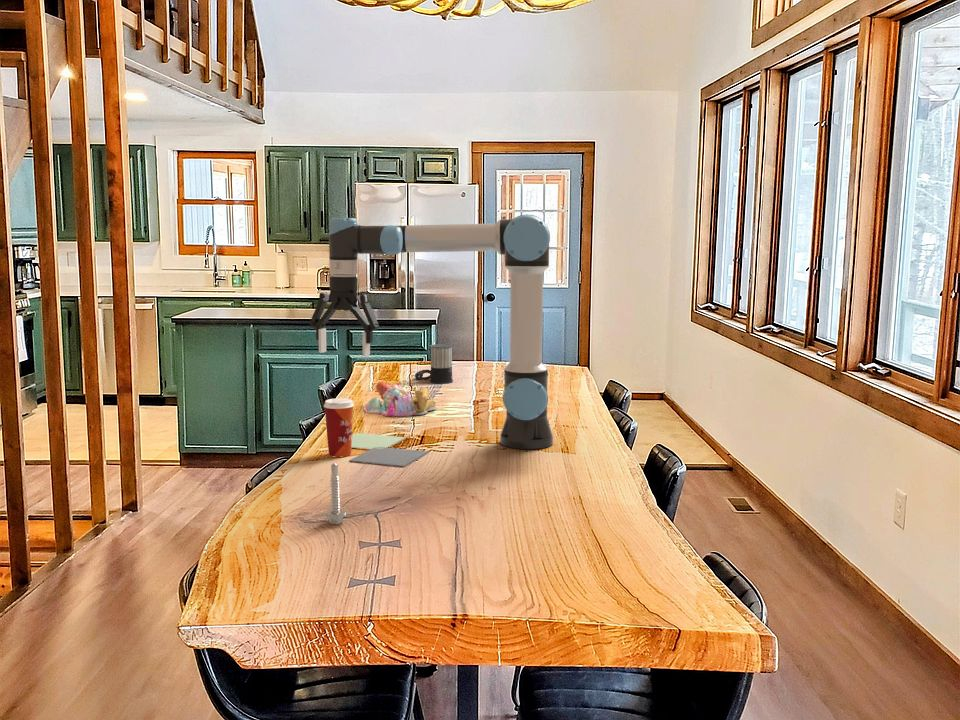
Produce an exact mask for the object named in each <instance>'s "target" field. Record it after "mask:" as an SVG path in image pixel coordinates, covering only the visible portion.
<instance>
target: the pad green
mask: <svg viewBox="0 0 960 720" xmlns="http://www.w3.org/2000/svg"><path fill="white" fill-rule="evenodd" d="M404 440H406V436H405V437H404V436H396V435H395V436H394V435H383V434H373V433H372V434H371V433H360V432H356V433H352V445H351V449H352V448H362V449H369V450H370V449H373V448H374V449H375V448H376V449H377V450H379V449H380V450H381V449H382V447H383V449H384V448H388V447H389V448H391V447H392V446H395V445H396V444H398V443H400V442H402V441H404ZM378 448H379V449H378ZM362 449H361V450H362ZM369 450H368V451H369Z"/></svg>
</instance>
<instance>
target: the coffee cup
mask: <svg viewBox="0 0 960 720" xmlns="http://www.w3.org/2000/svg"><path fill="white" fill-rule="evenodd" d="M354 406H355V404H354V401H353V400H352V399H351V398H345V397H343V398H341V397H339V398H338V397H337V398H330V399H325V401H324V404H323V408H324V415H325V425H326V427H325V428H326V438H327V449H328V456H329V455H330V457H331V456H336V457H335V458H341V457H340V456H346V457H348V456H347V455H349V456H351V455H352V448H351V445H352V435H353V419H354V418H353V415H354ZM350 454H351V455H350Z"/></svg>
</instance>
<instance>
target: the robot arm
mask: <svg viewBox="0 0 960 720" xmlns="http://www.w3.org/2000/svg"><path fill="white" fill-rule="evenodd" d="M328 228H329V229H328V232H329V233H328V235H327V236H328V248H329V251H328V253H329V254H328V255H329V260H328V261H329V263H328V265H329V275H331V276H330V277H328V278H329V279H328V280H329V291H330V292H329V293H328V292H320V293H319V297H318V302H317V305H316V307H315V309H314V311H313V314H312V316H311V319H310V321H309V326H310V327H314V328H315V334H316V335H315V336H316V340H317V341H318V353H320V354H321V353H322V354H323V353H327V328H326V327H325V326H326V324H328V322H329V320H330V319H331V317H332V316H333V315H334V314H335V312H336V311H344V312H345V311H346V312H347V311H349V312H350V313H352V315H354V317H355V319H356V320H357V321H358V322H359V325H361V327H362V328H363V330H364V331H362V357H366V356H367V357H368V356H370V355H371V344H373V341H374V339H373V336H374V335H373V332H374V331H376V330H379V329H380V325H379V322H378V320H377V317H376V316H375V313H374V311H373V309H372V307H371V304H370V300H369V295H368V294H367V293H365V294H358V287H359V286H358V285H359V283H358V282H359V281H358V277H357V276H356V275H358V270H359V269H358V267H359V266H358V254H361V255H363V254H368V255H385V256H386V255H387V256H390V255H392V256H393V255H398V254H401V253H440V252H441V253H442V252H443V253H444V252H447V253H448V252H497V253H498V254H499V255H504V267H505V269H507V270H508V272H509V273H510V295H509V296H510V298H509V299H510V300H509V302H510V304H509V305H510V306H509V307H510V310H509V311H510V312H509V313H510V315H509V316H510V318H509V319H510V323H509V325H510V326H509V328H510V329H509V330H510V331H509V332H510V333H509V338H510V339H509V342H510V343H509V346H510V347H509V362H508V364H507V365H506V366H505V367H504V374H503V375H504V376H503V377H504V379H503V380H504V382H503V383H504V385H503V386H504V388H503V390H504V391H503V395H502V402H503V406H504V408H505V409H506V416H505V421H504V424H503V427H502V430H501V433H500V436H499V442H500V445H501V446H504V447H507V448H510V449H516V450H517V449H518V450H538V449H545V448H548V447H551V446H552V445H553V444H554V443H553V442H554V439H553V438H554V436H553V433H552V429H551V425H550V422H549V419H548V402H549V395H548V377H549V372H548V370H549V369H548V367H547V366H546V365H545V364H544V363H543V317H544V316H543V314H544V313H543V311H544V310H543V308H544V307H543V303H544V300H543V299H544V297H543V295H544V272H545V271H546V270H547V269H548V268H549V266H550V241H551V234H550V233H551V232H550V230H549V228H548V226H547V223H546V222H545V221H544V220H543V219H542V218H541V217H539V216H536V215H534V214H529V213H528V214H527V213H526V214H521V215H518V216H516V217H514V218H510V219H498V220H497V222H495V223H462V224H461V223H460V224H459V223H458V224H453V223H452V224H421V225H420V224H417V225H416V224H415V225H412V224H411V225H390V224H389V225H360V224H358V220H357V218H355V217H332V218H330V220H329V227H328ZM328 301H330V302H331V303H330V304H329V305H328ZM358 302H359V304H360V306H361V308H362V310H361V309H360V306H359V305H358ZM326 305H328V307H327V309H326V311H325V312H324V310H325V308H326ZM362 311H363V312H362Z"/></svg>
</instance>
